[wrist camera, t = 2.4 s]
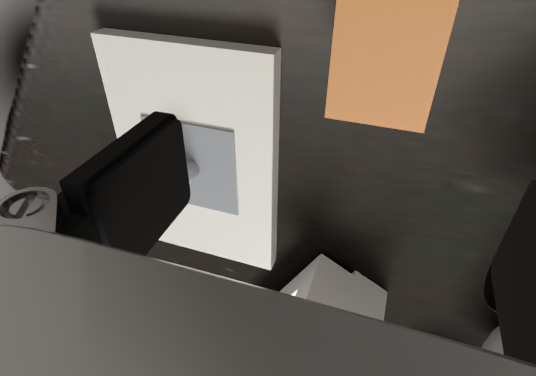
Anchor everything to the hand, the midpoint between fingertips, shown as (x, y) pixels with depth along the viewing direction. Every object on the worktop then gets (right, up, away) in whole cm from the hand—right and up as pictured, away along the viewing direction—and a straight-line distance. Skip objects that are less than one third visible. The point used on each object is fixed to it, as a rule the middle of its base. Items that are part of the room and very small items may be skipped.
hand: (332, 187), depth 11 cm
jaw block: (+6, +9, +12) cm, 16 cm away
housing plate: (-8, +3, +23) cm, 24 cm away
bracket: (+3, -11, +29) cm, 31 cm away
